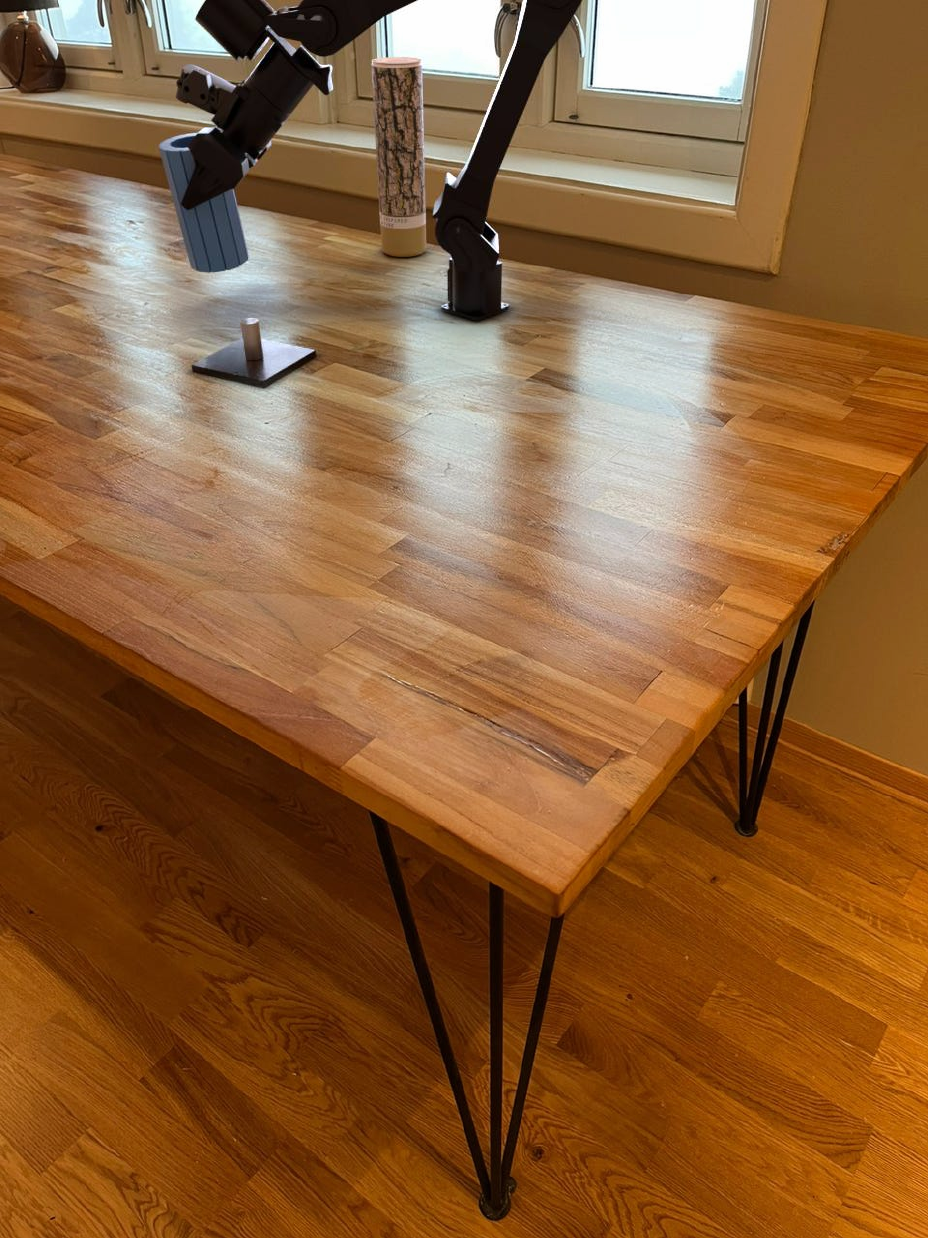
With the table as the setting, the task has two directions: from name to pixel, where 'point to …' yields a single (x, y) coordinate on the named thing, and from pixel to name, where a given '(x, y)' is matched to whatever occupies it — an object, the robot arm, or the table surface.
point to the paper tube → (400, 154)
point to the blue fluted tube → (203, 214)
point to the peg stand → (254, 358)
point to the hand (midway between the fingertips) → (192, 198)
